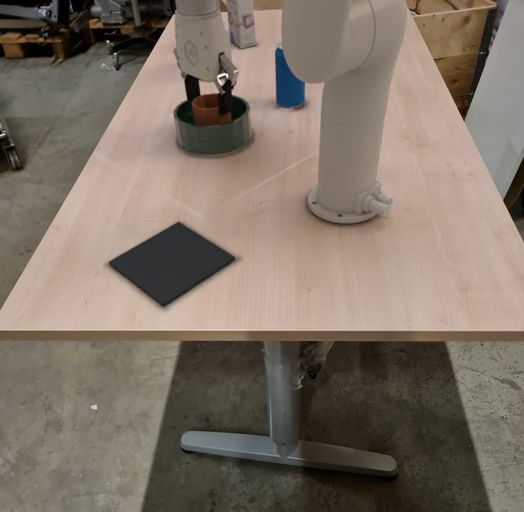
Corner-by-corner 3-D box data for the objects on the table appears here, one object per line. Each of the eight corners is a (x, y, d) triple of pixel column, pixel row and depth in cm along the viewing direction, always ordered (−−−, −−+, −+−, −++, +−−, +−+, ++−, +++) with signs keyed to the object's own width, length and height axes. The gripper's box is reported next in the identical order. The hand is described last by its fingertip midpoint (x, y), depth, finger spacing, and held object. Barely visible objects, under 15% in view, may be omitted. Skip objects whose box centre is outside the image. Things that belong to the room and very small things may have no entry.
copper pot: (239, 134, 99) (236, 99, 94) (212, 148, 96) (208, 112, 91) (216, 124, 103) (212, 90, 98) (190, 137, 100) (184, 102, 94)
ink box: (228, 40, 138) (224, -10, 129) (244, 36, 139) (241, -13, 130) (240, 49, 133) (236, -3, 124) (256, 45, 134) (254, -6, 125)
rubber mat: (235, 259, 74) (235, 256, 74) (163, 307, 68) (162, 304, 68) (179, 224, 81) (178, 221, 81) (109, 264, 75) (108, 261, 75)
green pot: (266, 136, 100) (265, 106, 95) (211, 165, 93) (207, 135, 88) (218, 115, 107) (214, 87, 102) (164, 141, 100) (158, 112, 96)
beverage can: (302, 111, 106) (303, 50, 97) (273, 109, 107) (272, 49, 98) (306, 98, 110) (307, 39, 101) (279, 97, 112) (277, 38, 102)
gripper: (149, -2, 84) (168, 99, 98) (214, 18, 76) (225, 125, 89) (182, -12, 88) (196, 87, 101) (248, 6, 79) (253, 111, 93)
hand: (209, 105), depth 95 cm, fingers open, 9 cm apart
